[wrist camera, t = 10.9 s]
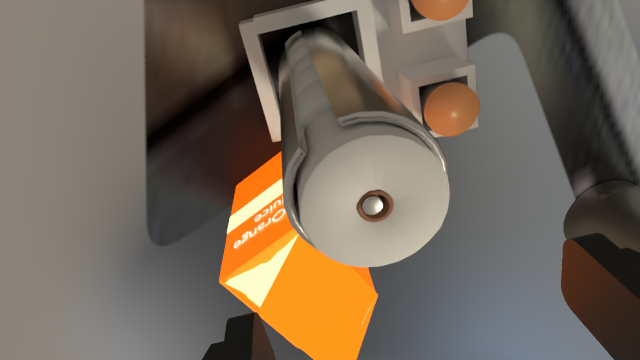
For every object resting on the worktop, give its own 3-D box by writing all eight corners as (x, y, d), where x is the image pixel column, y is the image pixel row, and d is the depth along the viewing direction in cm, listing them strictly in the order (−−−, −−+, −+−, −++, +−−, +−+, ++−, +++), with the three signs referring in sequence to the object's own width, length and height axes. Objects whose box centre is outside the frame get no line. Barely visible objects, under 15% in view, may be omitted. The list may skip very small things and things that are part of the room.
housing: (465, 109, 41) (490, 127, 36) (279, 154, 41) (280, 178, 36) (454, -67, 34) (482, -73, 29) (231, -12, 34) (224, -8, 30)
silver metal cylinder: (347, 20, 36) (462, 105, 14) (354, 95, 39) (459, 262, 17) (272, 32, 36) (266, 137, 14) (285, 106, 39) (297, 290, 17)
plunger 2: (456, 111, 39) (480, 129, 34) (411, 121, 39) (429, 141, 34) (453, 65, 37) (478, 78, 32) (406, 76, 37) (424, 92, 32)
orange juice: (290, 241, 46) (300, 415, 28) (234, 185, 42) (204, 345, 24) (349, 200, 44) (399, 357, 26) (296, 138, 41) (311, 272, 23)
